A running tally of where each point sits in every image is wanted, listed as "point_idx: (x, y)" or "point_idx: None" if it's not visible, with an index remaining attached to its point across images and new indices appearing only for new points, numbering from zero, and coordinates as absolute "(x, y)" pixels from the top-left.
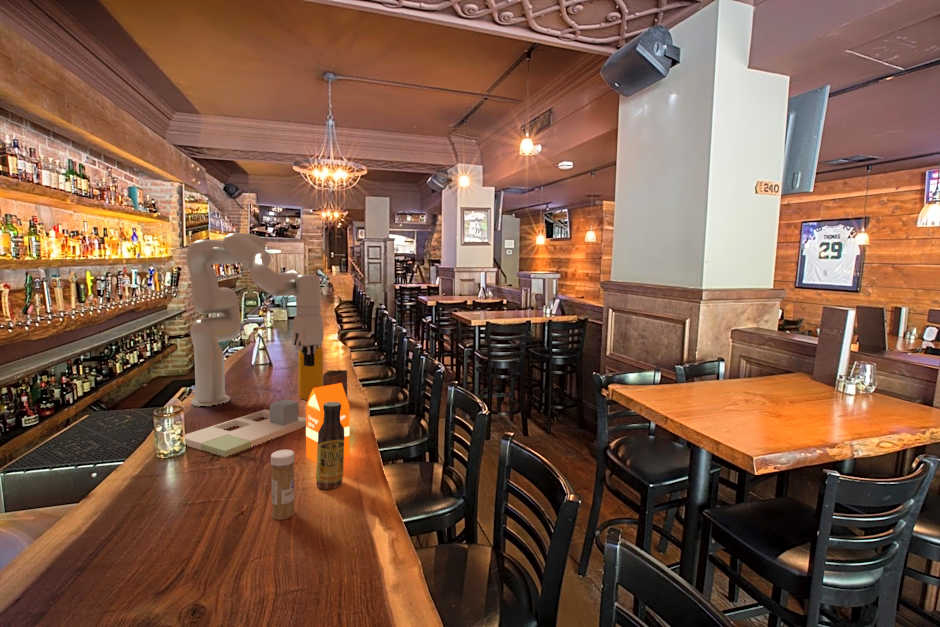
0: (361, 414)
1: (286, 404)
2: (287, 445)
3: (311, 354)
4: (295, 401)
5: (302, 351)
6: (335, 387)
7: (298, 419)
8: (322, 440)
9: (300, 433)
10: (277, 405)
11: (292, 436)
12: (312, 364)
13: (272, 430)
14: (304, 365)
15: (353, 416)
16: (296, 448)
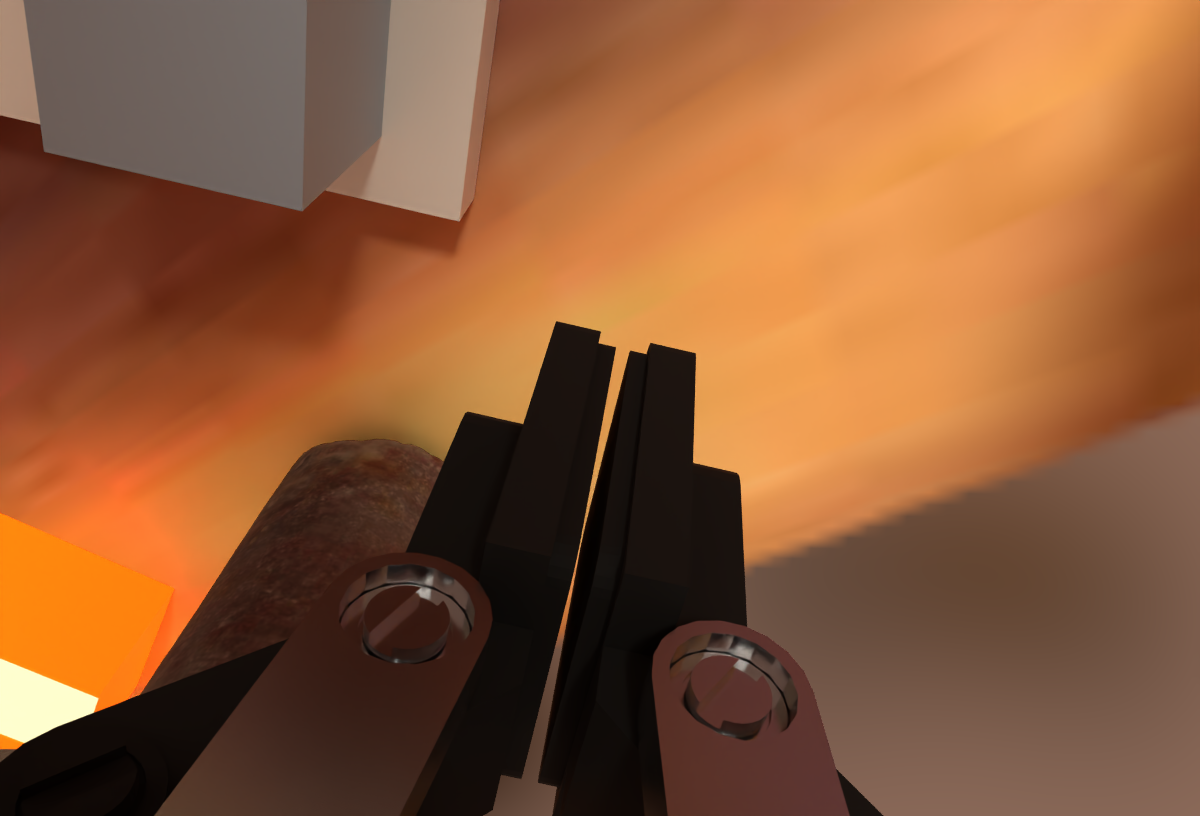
0: (911, 499)
1: (134, 127)
2: (17, 294)
3: (558, 760)
4: (304, 159)
5: (178, 733)
6: None
7: (399, 123)
8: None
9: (260, 246)
10: (31, 31)
11: (170, 222)
12: (580, 554)
13: (11, 69)
14: (559, 328)
15: (837, 460)
16: (24, 383)
